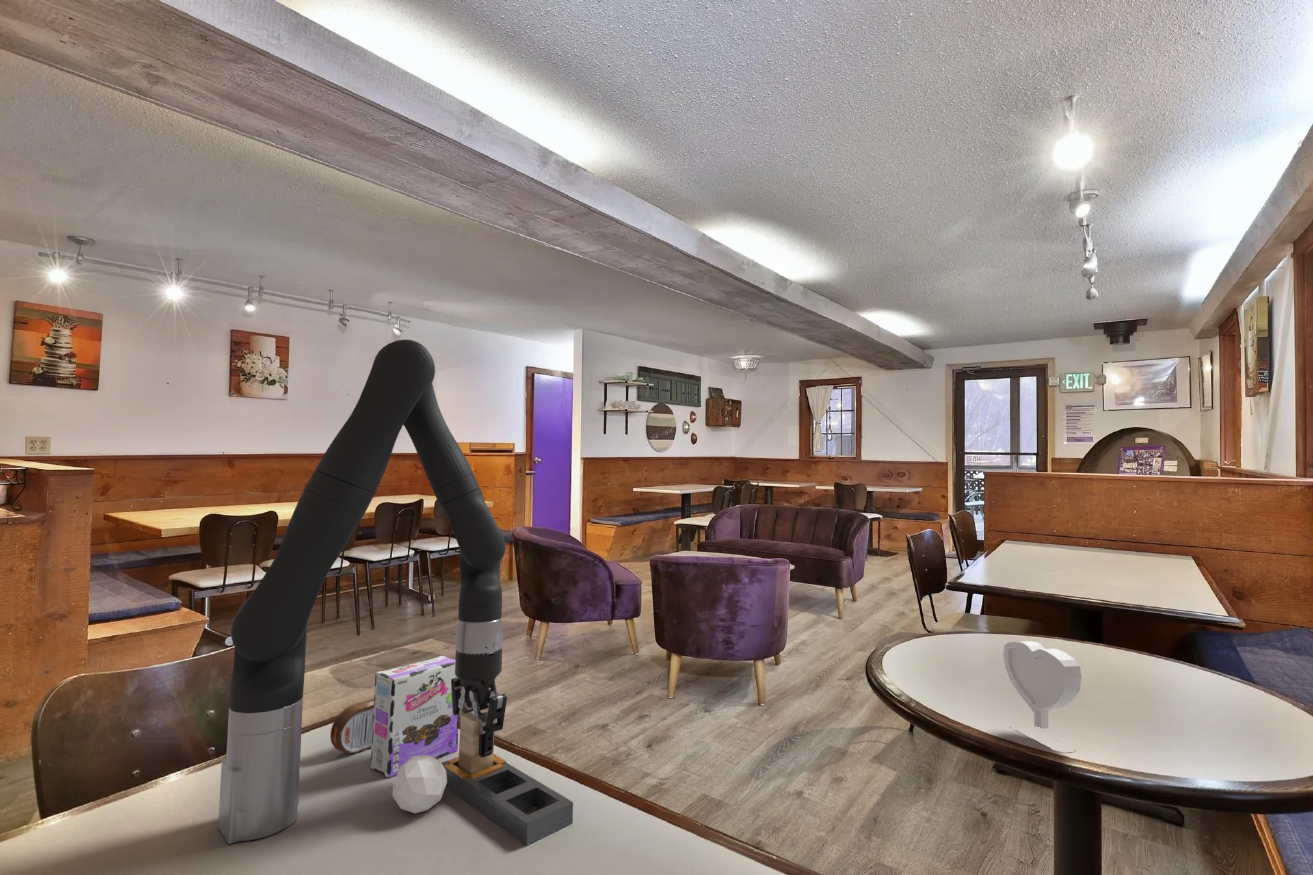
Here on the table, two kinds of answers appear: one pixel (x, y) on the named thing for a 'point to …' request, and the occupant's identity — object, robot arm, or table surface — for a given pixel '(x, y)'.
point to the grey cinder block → (511, 799)
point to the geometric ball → (419, 783)
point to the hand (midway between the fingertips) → (476, 749)
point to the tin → (354, 728)
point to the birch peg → (471, 745)
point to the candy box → (413, 714)
